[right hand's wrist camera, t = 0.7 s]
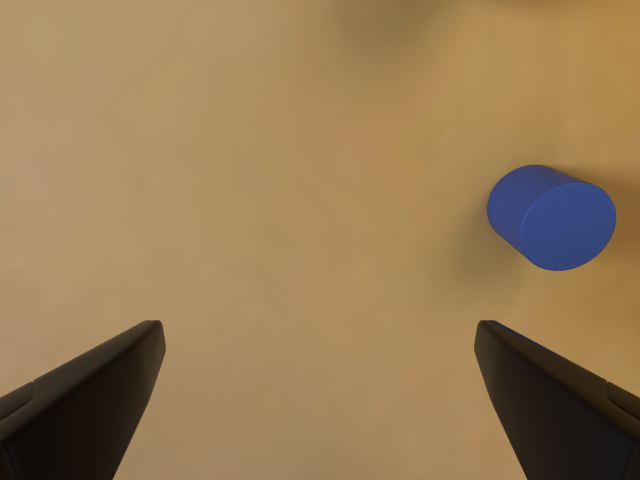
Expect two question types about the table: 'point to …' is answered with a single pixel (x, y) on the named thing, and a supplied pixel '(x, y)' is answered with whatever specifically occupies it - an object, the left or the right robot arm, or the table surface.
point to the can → (551, 217)
